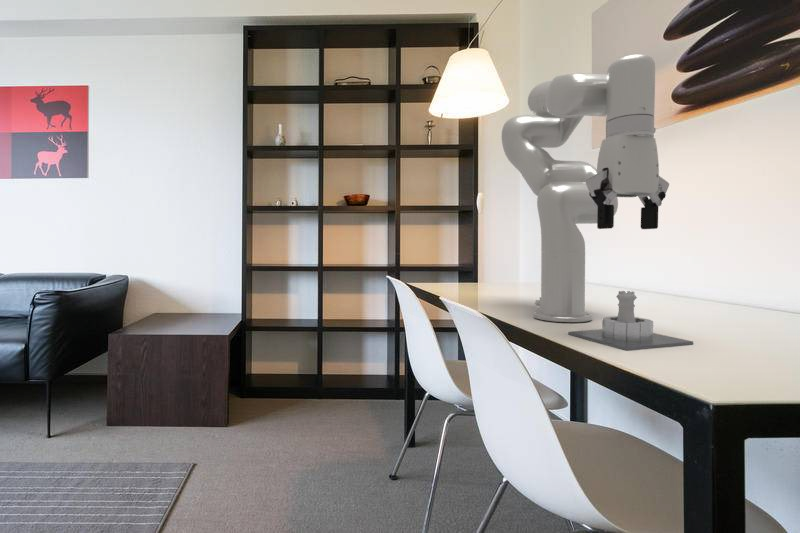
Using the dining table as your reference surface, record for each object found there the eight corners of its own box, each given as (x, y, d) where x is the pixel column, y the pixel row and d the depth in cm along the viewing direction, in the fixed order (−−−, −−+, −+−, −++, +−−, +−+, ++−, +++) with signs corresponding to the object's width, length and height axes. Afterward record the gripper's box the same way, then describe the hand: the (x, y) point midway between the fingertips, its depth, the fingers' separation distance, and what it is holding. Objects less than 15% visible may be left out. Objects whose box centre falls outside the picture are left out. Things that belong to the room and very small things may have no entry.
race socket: (568, 334, 82) (568, 316, 82) (627, 329, 86) (627, 312, 86) (626, 350, 69) (626, 328, 68) (693, 344, 73) (693, 323, 73)
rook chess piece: (643, 338, 75) (644, 292, 75) (615, 337, 76) (616, 292, 76) (635, 334, 79) (636, 290, 79) (609, 333, 80) (609, 290, 80)
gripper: (650, 139, 82) (648, 229, 83) (573, 133, 77) (572, 229, 78) (686, 129, 75) (684, 228, 76) (605, 121, 70) (603, 227, 71)
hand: (627, 228), depth 77 cm, fingers open, 9 cm apart
